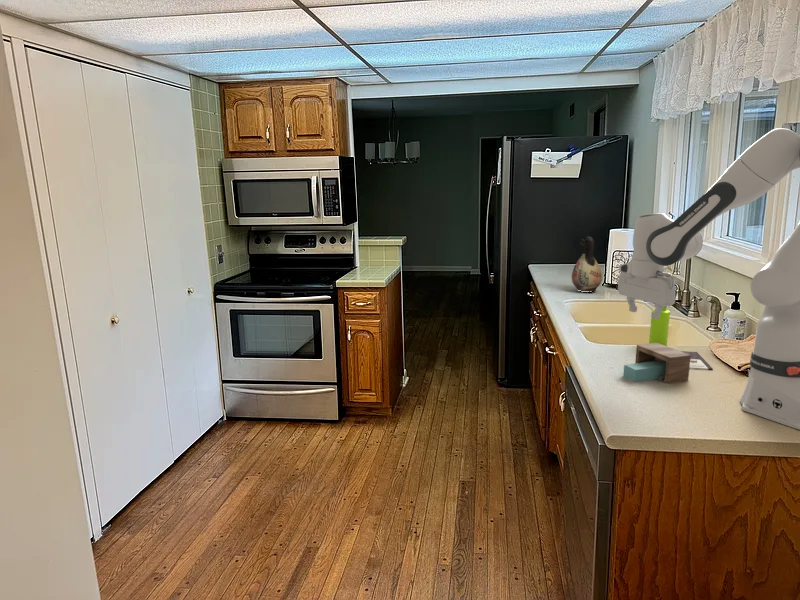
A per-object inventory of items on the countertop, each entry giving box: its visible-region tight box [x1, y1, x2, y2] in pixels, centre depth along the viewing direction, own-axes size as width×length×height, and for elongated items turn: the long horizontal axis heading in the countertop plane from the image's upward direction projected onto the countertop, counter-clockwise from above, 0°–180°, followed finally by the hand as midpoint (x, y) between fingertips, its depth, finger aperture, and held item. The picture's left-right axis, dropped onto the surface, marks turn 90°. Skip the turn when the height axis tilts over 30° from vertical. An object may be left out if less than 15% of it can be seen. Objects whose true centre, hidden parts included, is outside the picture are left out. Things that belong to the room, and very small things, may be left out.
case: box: [622, 360, 666, 383], centre depth 175 cm, size 14×5×4 cm, turn 108°
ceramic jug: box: [571, 236, 603, 292], centre depth 302 cm, size 17×15×30 cm
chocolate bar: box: [680, 350, 714, 371], centre depth 191 cm, size 9×1×18 cm
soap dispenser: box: [648, 306, 671, 347], centre depth 205 cm, size 6×7×20 cm
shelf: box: [634, 342, 691, 384], centre depth 176 cm, size 14×8×8 cm, turn 18°
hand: (643, 314), depth 170 cm, fingers open, 8 cm apart
